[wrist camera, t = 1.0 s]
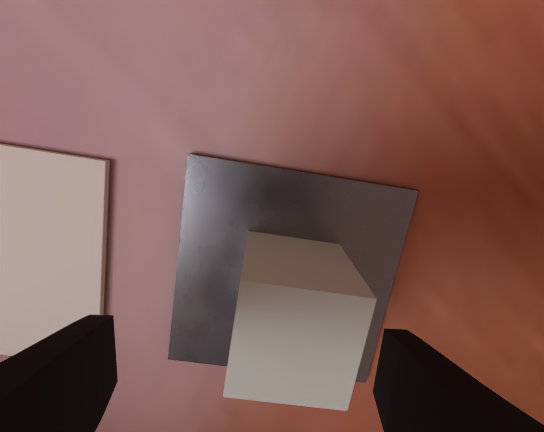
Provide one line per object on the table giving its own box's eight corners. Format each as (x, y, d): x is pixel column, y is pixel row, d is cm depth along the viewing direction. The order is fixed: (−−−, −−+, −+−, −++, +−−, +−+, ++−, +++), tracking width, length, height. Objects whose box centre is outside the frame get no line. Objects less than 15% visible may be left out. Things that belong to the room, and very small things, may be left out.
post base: (363, 376, 20) (390, 443, 16) (170, 353, 20) (143, 416, 15) (414, 189, 18) (464, 208, 13) (190, 153, 17) (164, 160, 12)
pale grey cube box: (321, 325, 19) (347, 410, 13) (235, 314, 19) (222, 396, 13) (339, 244, 18) (377, 299, 12) (247, 230, 17) (240, 280, 12)
